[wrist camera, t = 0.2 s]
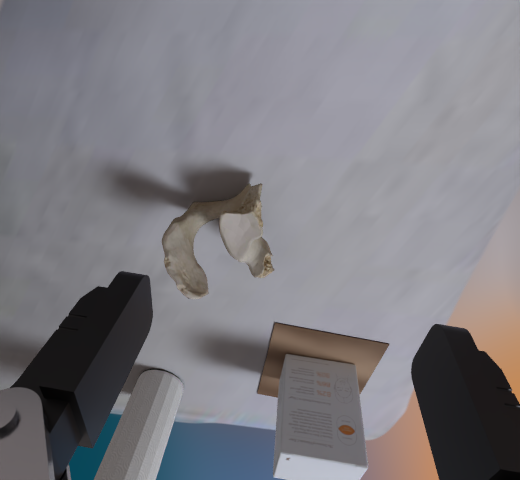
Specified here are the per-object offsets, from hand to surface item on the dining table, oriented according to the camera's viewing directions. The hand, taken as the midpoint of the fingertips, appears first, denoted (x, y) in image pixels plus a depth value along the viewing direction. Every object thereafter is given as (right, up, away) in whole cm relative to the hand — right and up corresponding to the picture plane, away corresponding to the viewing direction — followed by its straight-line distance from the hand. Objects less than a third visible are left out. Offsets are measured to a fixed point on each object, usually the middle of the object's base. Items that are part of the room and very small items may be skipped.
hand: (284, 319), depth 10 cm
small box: (+6, -13, +31) cm, 34 cm away
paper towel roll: (-14, -16, +36) cm, 42 cm away
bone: (-2, +5, +19) cm, 20 cm away
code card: (+6, -13, +31) cm, 34 cm away
